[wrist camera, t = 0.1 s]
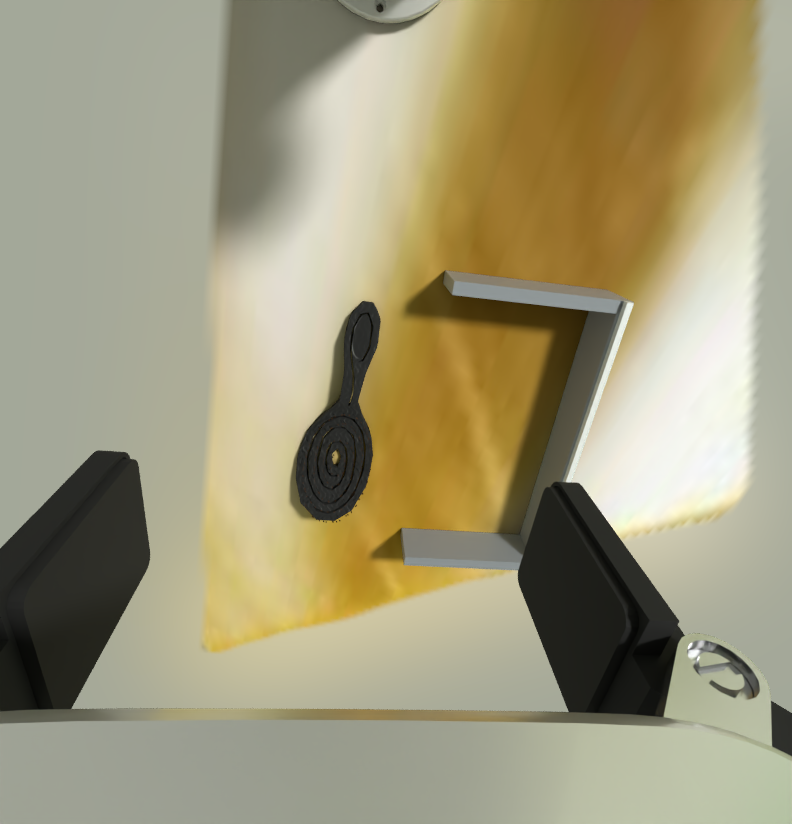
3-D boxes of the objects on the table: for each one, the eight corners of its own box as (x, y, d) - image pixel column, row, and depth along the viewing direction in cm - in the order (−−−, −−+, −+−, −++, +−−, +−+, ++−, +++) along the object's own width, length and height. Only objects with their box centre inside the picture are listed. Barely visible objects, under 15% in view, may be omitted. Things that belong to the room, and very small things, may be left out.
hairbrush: (412, 315, 44) (359, 531, 53) (408, 308, 47) (359, 511, 57) (324, 296, 43) (285, 520, 52) (327, 289, 46) (290, 501, 55)
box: (445, 270, 45) (455, 282, 40) (607, 290, 47) (637, 303, 42) (400, 535, 59) (404, 568, 54) (526, 542, 61) (541, 575, 56)
